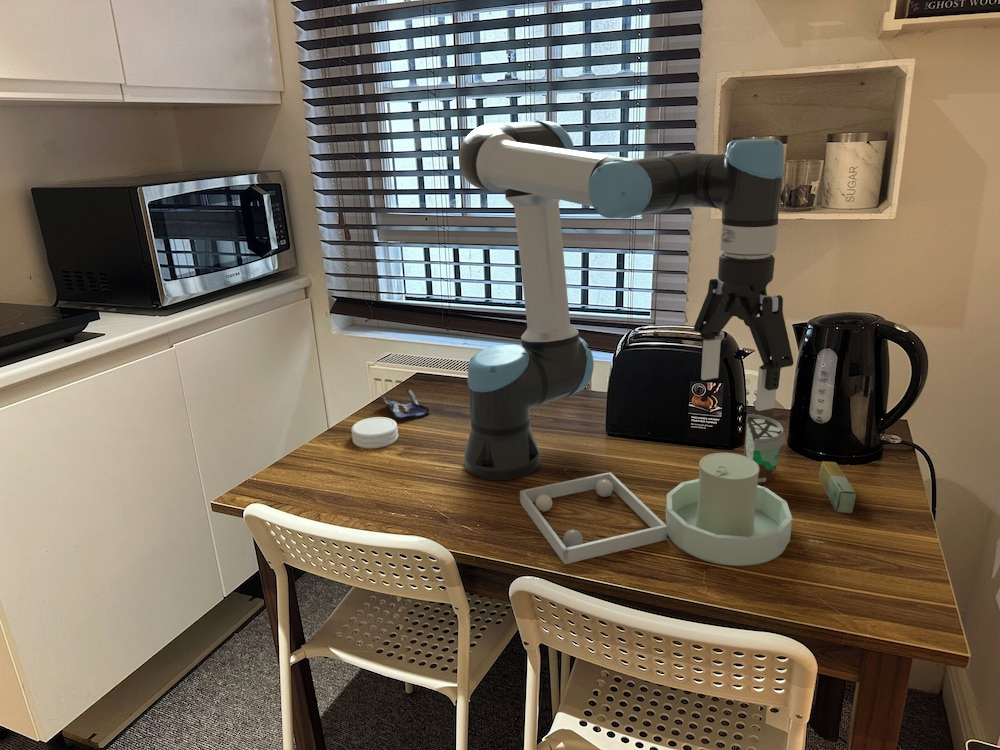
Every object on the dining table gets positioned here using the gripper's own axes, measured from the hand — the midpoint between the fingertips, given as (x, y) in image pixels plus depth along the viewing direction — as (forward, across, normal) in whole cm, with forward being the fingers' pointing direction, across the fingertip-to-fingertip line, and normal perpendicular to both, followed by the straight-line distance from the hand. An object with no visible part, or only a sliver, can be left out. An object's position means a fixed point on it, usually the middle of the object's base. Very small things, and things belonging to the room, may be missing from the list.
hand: (735, 392), depth 108 cm
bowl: (+24, 0, 0) cm, 25 cm away
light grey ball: (+25, -18, -13) cm, 33 cm away
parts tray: (+25, -11, -19) cm, 33 cm away
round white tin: (+25, -59, -48) cm, 80 cm away
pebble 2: (+24, -5, -25) cm, 35 cm away
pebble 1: (+25, -17, -25) cm, 39 cm away
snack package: (+25, -71, -39) cm, 85 cm away
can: (+24, 0, 0) cm, 24 cm away
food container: (+25, -13, +18) cm, 33 cm away
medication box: (+25, -2, +25) cm, 35 cm away
